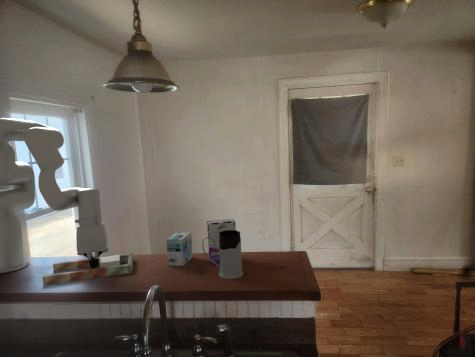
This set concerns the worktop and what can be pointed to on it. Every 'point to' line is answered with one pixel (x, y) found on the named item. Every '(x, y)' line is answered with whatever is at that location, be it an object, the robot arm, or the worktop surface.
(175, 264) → the light bulb box
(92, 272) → the trap lane
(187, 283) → the worktop surface
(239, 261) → the white pitcher
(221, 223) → the candy bar box
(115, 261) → the cream block
